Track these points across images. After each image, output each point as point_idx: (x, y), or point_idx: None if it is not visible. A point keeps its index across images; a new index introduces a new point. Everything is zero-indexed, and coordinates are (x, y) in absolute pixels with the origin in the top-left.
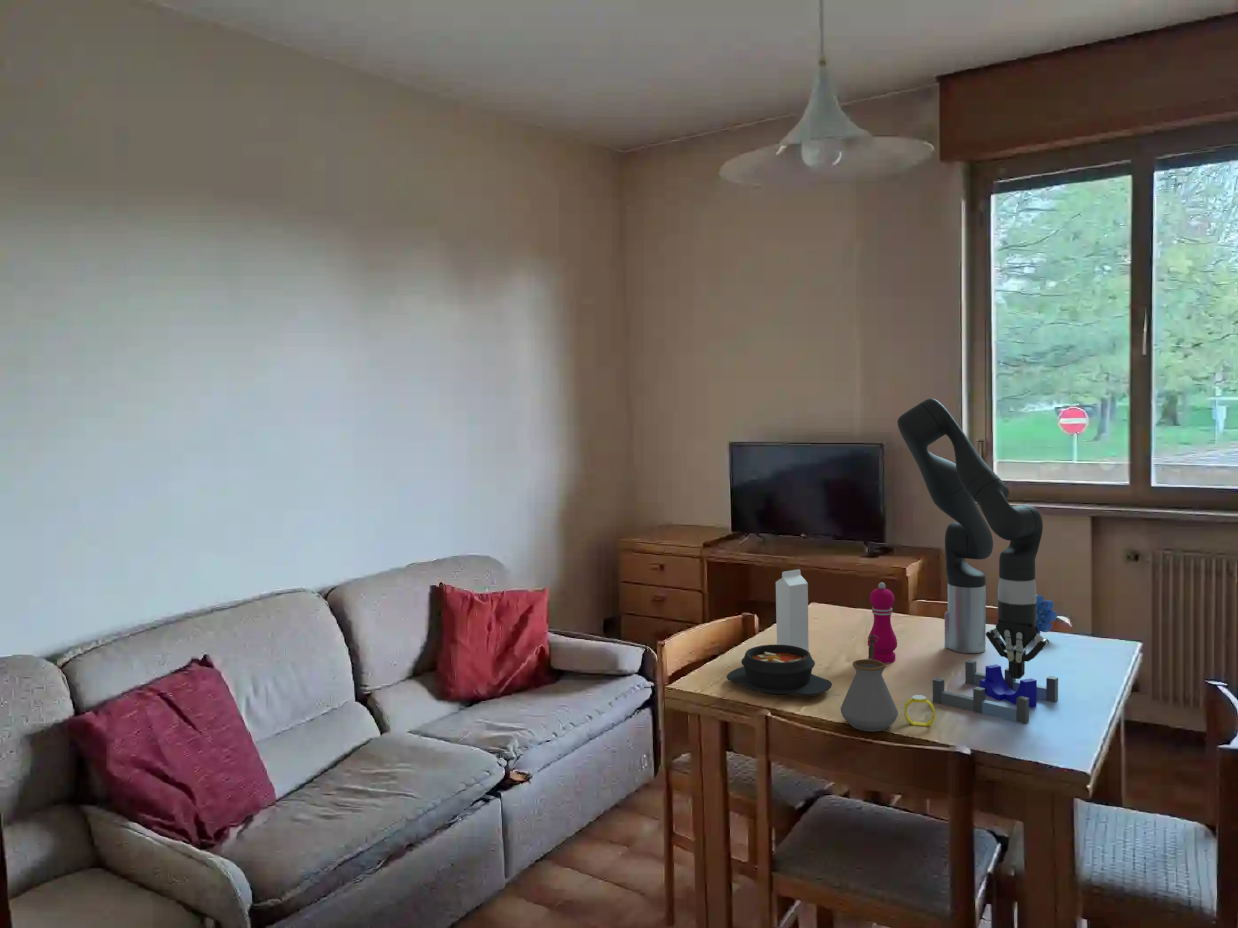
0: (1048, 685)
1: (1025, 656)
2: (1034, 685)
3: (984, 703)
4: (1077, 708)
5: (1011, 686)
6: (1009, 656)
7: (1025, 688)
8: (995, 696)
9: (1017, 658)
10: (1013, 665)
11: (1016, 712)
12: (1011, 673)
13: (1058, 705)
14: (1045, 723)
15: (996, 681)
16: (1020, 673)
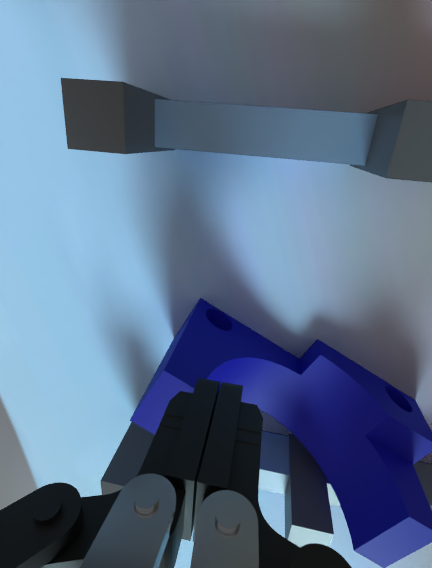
0: (141, 457)
1: (53, 539)
2: (146, 392)
3: (357, 115)
4: (66, 379)
5: (294, 455)
6: (237, 543)
7: (175, 348)
8: (338, 357)
9: (153, 516)
10: (211, 453)
11: (160, 97)
12: (238, 403)
13: (120, 381)
14: (76, 167)
15: (354, 448)
16: (177, 408)
